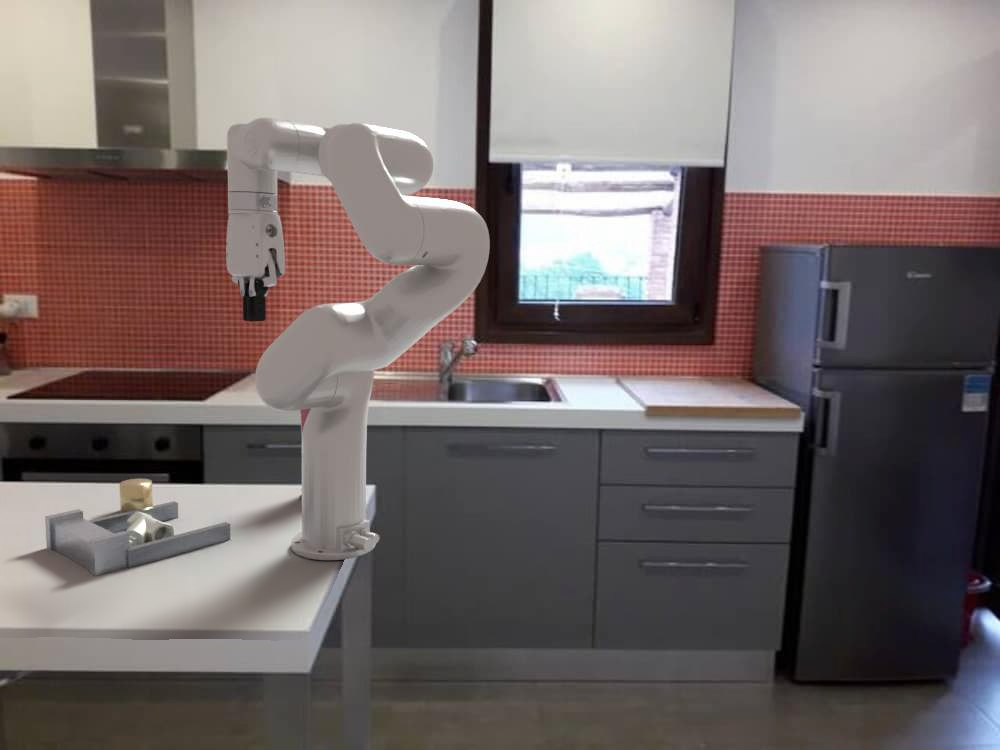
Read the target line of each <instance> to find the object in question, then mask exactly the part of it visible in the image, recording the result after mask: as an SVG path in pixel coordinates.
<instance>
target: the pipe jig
mask: <svg viewBox="0 0 1000 750" xmlns="http://www.w3.org/2000/svg"><path fill="white" fill-rule="evenodd" d="M135 512H141V513H145V514H149V515H151V516H152V518H154V519H156V520H159V521H161V522H165V521H169V520H173V519H177V518H179V503H178V502H177V501H169V502H166V503H162V504H156V505H153V506H151V507H147V508H142V509H138V510H134V511H129V512H125V513H121V512H120V513H117V514H116V513H115V514H112V515H109V516H104V517H99V518H95V519H89V520H87V519H86V518H84V511H83V510H81V509H79V508H78V509H74V510H73V509H72V510H70V511H64V512H58V513H55V514H51V515H50V514H49V515H45V516H44V518H45V524H44V525H45V540H46V543H45V544H46V549H49V550H50V551H56V552H58V553H59V554H61V555H63V556H64V557H66V558H68V559H69V560H72V561H74V562H75V563H77V564H78V565H80V566H83V568H85V569H87V570H89V571H90V574H92V575H93V576H100V575H103V574H107V573H110V572H115V571H117V570H120V569H124V568H129V569H130V568H133V567H137V566H139V565H144V564H147V563H152V562H154V561H159V560H162V559H165V558H169V557H172V556H176V555H180V554H183V553H186V552H190V551H193V550H194V551H195V550H197V549H201V548H205V547H208V546H212V545H215V544H218V543H223V542H226V541H230V540H231V523H229V522H226V521H225V522H221V523H217V524H213V525H209V526H205V527H202V528H198V529H194V530H191V531H186V532H182V533H178V534H174V536H170V537H167V538H163V539H159V540H155V541H151V542H148V541H147V542H146V543H144V544H140V545H136V546H132V547H129V533H127V532H126V531H127V520H128V519H129V518H130V517H131V516H132V515H133V514H134V513H135Z"/></svg>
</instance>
